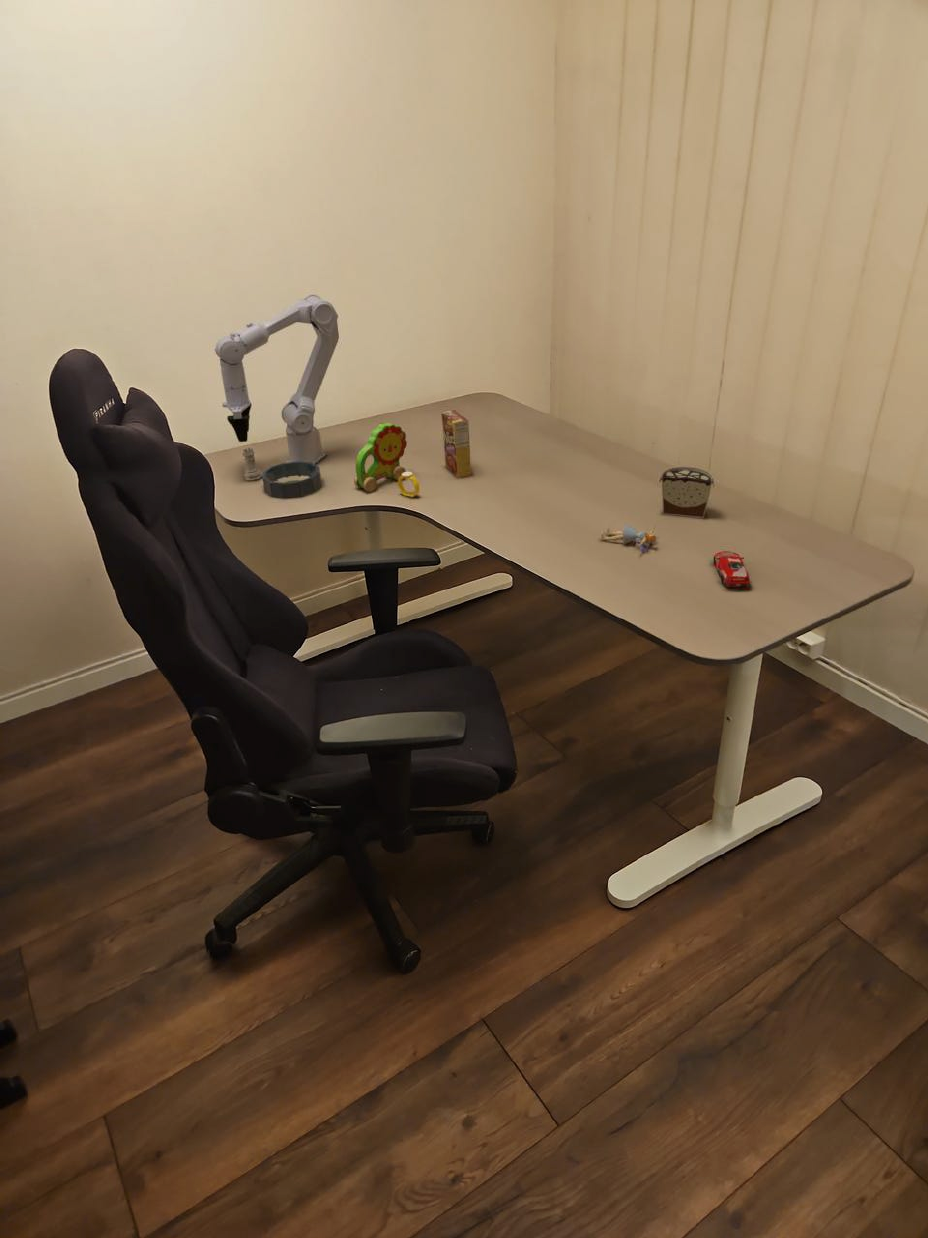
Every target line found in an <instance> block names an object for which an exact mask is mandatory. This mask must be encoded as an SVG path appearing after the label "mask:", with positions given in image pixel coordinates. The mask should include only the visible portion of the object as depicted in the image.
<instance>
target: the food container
mask: <svg viewBox="0 0 928 1238" xmlns="http://www.w3.org/2000/svg"><path fill="white" fill-rule="evenodd" d="M659 483H661V489H662V490H661V492H662V493H661V494H662V495H661V496H662V515H667V516H668V515H669V516H677V517H687V518H697V519H704V518H705V515H706V510H707V507H708V506H707V505H708V502H709V498H710V493H711V489H712V488H714V487H715V480H714V477H713V475H712V473H710V472H709V471H707V470H705V469H703V468H698V467H693V466H692V467H691V466H678V467H671V468H668V469H666V470H664V471H663V472H662V474H661V476H660V478H659Z"/></svg>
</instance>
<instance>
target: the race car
mask: <svg viewBox="0 0 928 1238" xmlns="http://www.w3.org/2000/svg"><path fill="white" fill-rule="evenodd" d="M744 559H745V557H743V556H742V557H741V556H740V555H739V553H737V552H734V551H729V550H723V551H718V552H716V553H715V554H714V555H713V565H714V567H715V568H716V571H717V574H718V575H719V578H720V580H721V584H722V585H724V586H725V587H728V588H746V587H749V585H750V575H749V571H748V570H747V568H746V566H745V564H744V561H743V560H744Z"/></svg>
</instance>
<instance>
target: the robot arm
mask: <svg viewBox="0 0 928 1238" xmlns="http://www.w3.org/2000/svg"><path fill="white" fill-rule="evenodd" d="M338 319H339V315H338V313H337V311H336V308H335V307H334V305H333V304H332V303H331V302H329V301H328V300H325V299H323V298H322V297H320V296H318V295H317V294H309V295H306V296H305V297H304V298H301V299H298V300H297V301H295V302H294V303H293V304H291V305H290V306H288V307H286V308H285V309H284V310H282V311H280V312H278V313H277V314H276V315H273V316H272V317H270V318H269V319H267V320H266V321H265V322H262V323H260V322H257V321H254V322H251V321H249V322H247V323H245V325H246V326H245V327H243V328H241V329H240V330H237V331H235V332H234V331H232V332H231V333H229V336H223V337H220V338H219V339H218V340H217V342H216V344H215V348H214V351H215V352H214V353H215V354H216V356H218V358H219V364H220V365H219V366H220V373H221V379H222V383H223V390H224V395H225V400H226V402H222V405H221V406H222V408H227V409H228V410H229V411H230V412H231V413H232V414H231V415H227V418H226V419H227V421H228V423H229V424H230V425H231V428H232V429H233V431H234V434H235V436H236V439H237V441H238V442H239V443H246V442H248V438H249V437H248V433H249V431H250V417H251V415H250V412H251V409H252V405H253V404H252V402H251V400H250V396H249V392H248V386H247V379H246V373H245V367H244V364H243V360H244V358H245V355H248V354H250V353H252V352H254V351H255V350H257V349H258V348H261V347H262V346H264V345H266V344H268V342H269V338H270V336H271V335H273V334H277V333H278V332H280V331H282V330H284V329H286V328H288V327H290V326H292V325H294V324H296V323H301V324H308V325H312V326H311V327H312V328H313V330H314V332H315V334H316V340H315V342H314V345H313V348H312V350H311V353H310V356H309V358H308V361H307V363H306V366H305V369H304V371H303V373H302V376H301V379H300V382H299V384H298V386H297V389H296V392H295V393H294V394H292V395H291V397H289V398H290V399H289V400H288V402H287V403H285V405H284V406H283V407H282V409H281V418H282V421H283V422H284V423H286V427H285V428H286V429H285V433H286V440H287V447H288V453H289V459H288V460H286V462H295V461H302V462H311V463H313V464H315V465H316V463H318V462H319V461H320V460H322V459H323V458H324V457H326V453H323V447H322V441H321V434H320V431H319V430H318V428H317V427H316V426H314V423H315V421H314V420H315V419H314V418H315V417H314V416H315V413H316V403H315V402H316V399H317V396H318V393H319V391H320V388H321V386H322V384H323V382H324V378H325V375H326V373H327V370H328V368H329V366H330V363H331V360H332V359H333V355H334V353H335V350H336V347H337V345H338V342H339V339H340V335H339V334H340V333H339V325H338Z"/></svg>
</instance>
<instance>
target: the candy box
mask: <svg viewBox="0 0 928 1238" xmlns="http://www.w3.org/2000/svg"><path fill="white" fill-rule="evenodd" d="M441 423H442V425H441V426H442V438H443V451H444V465H445V467H446V468H447V469H448V471H450V472H451V473H452V474H453V475H454V476H455V477H456V478H457V479H459V478H464V477H468V476H471V475H472V468H471V467H472V466H471V449H470V448H471V446H470V445H471V444H470V430H469V429H470V428H469V419H467V418H466V417H465V416H463V415H462V414H460V413H459V412H458V411H456V410H455V409H453V410H448V411H447V410H446V411H443V412H441Z"/></svg>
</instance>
